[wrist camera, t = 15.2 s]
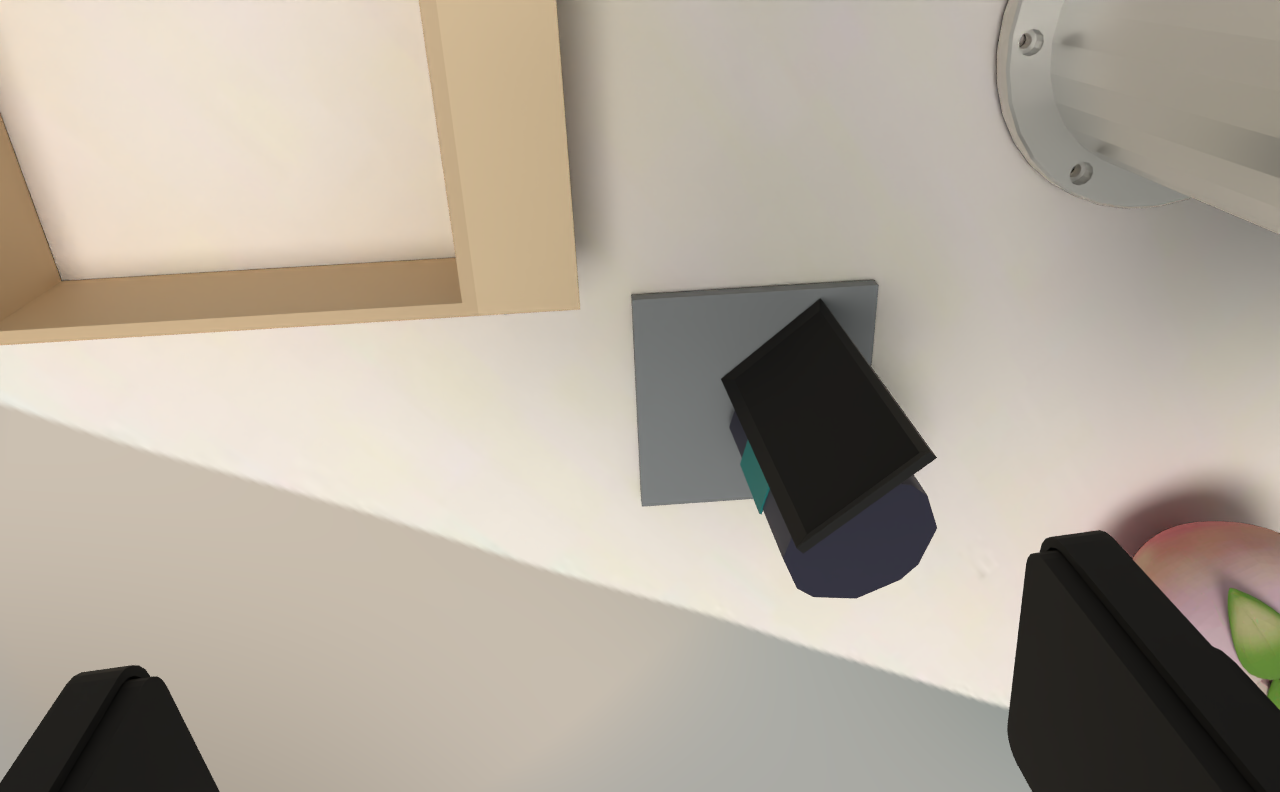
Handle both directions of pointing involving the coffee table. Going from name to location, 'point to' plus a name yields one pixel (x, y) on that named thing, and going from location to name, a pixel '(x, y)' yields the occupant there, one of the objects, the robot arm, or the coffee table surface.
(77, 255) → the coffee table surface
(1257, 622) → the decorative fruit
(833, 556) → the speaker
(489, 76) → the carton
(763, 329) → the mat
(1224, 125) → the robot arm
